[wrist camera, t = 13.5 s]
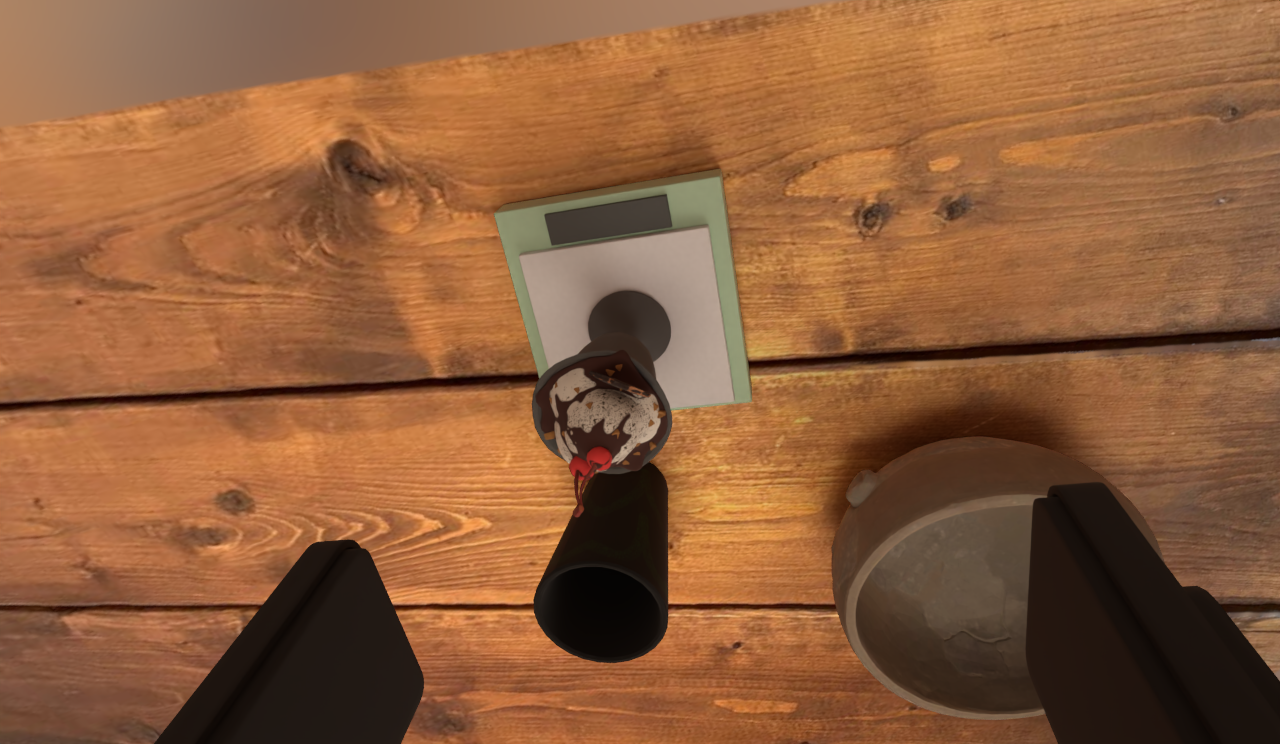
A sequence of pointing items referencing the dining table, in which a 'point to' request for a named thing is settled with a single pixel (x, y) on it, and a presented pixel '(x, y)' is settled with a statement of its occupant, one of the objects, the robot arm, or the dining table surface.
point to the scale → (635, 277)
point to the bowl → (950, 571)
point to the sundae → (608, 392)
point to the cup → (610, 571)
